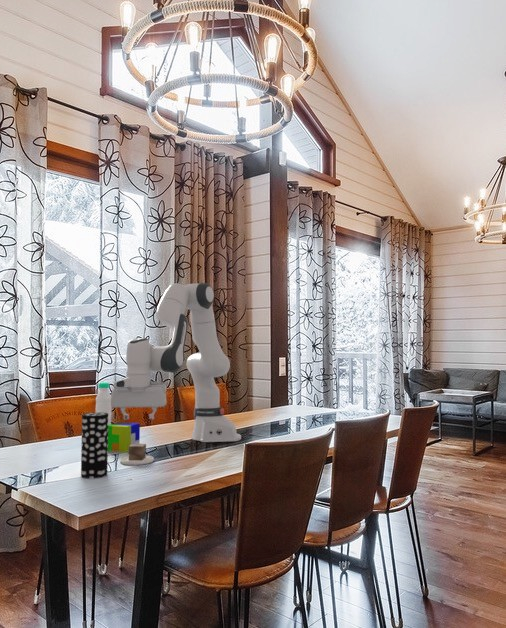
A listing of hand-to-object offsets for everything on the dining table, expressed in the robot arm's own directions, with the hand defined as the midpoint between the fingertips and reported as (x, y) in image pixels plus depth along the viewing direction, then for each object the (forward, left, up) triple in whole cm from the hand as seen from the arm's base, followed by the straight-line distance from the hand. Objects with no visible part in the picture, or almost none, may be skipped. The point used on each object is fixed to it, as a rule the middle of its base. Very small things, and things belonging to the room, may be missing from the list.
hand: (138, 419), depth 192 cm
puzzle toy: (+12, -22, -16) cm, 30 cm away
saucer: (0, 0, -15) cm, 15 cm away
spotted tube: (+9, +20, -16) cm, 27 cm away
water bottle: (+28, -46, -16) cm, 56 cm away
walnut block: (0, 0, -14) cm, 14 cm away
